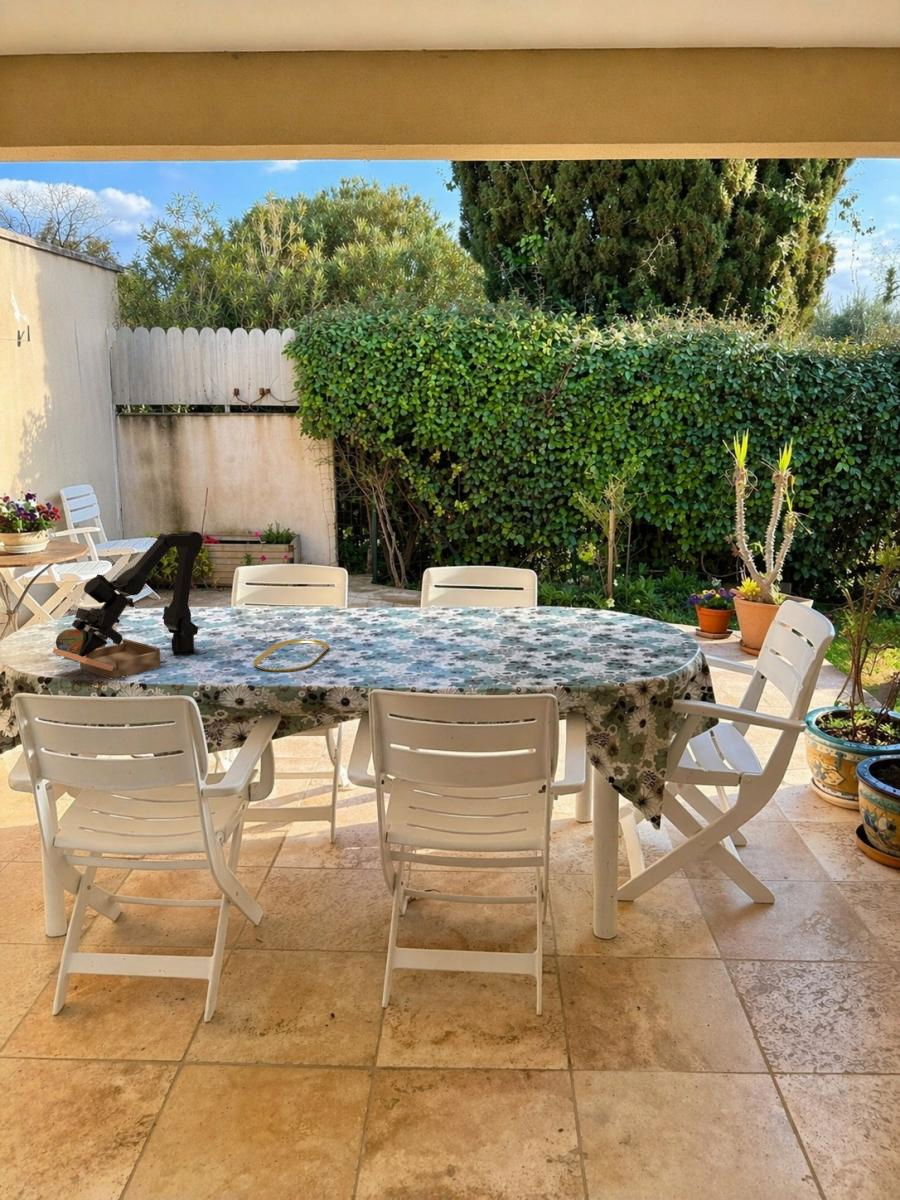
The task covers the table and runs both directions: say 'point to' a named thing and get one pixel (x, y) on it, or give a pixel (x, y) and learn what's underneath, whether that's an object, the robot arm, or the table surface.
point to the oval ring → (287, 644)
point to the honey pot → (92, 606)
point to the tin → (70, 641)
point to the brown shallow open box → (124, 659)
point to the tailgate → (82, 659)
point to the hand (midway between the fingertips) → (80, 656)
